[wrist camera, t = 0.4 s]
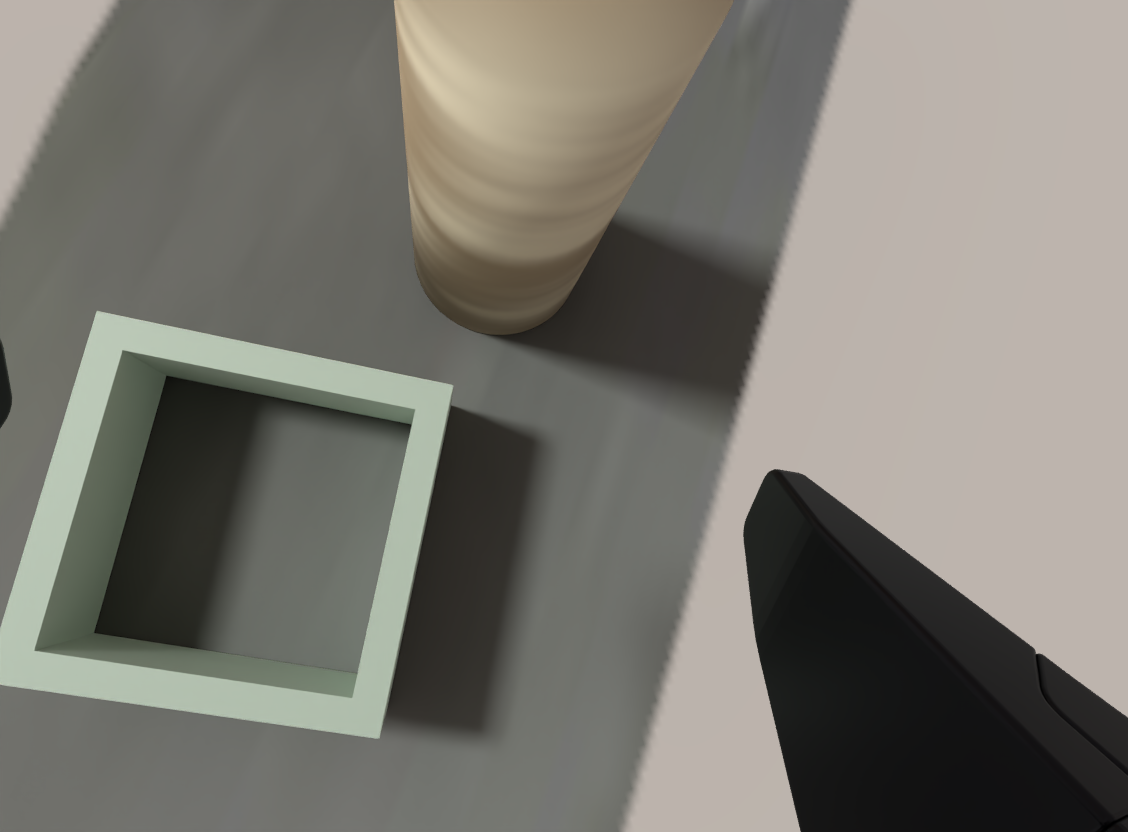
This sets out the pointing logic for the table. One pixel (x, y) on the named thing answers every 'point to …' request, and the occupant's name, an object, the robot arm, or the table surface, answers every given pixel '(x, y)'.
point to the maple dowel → (531, 138)
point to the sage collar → (101, 503)
